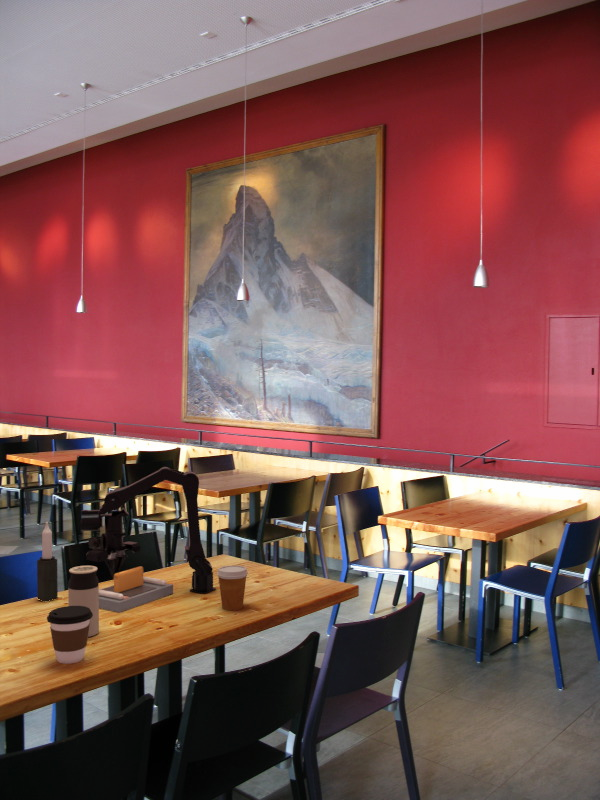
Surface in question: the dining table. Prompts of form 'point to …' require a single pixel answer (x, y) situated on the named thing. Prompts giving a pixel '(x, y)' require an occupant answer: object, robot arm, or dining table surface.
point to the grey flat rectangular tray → (134, 595)
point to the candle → (47, 569)
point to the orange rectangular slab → (128, 579)
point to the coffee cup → (70, 632)
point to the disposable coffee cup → (232, 586)
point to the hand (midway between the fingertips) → (114, 577)
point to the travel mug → (85, 593)
